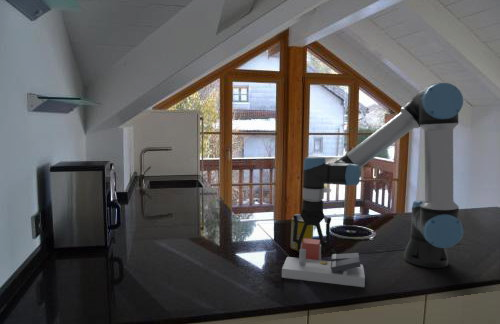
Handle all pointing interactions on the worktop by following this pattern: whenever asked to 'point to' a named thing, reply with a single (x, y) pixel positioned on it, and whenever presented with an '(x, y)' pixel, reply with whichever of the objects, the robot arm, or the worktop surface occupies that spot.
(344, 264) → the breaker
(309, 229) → the beverage can
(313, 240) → the red rectangular block
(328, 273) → the panel
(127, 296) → the worktop surface
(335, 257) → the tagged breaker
